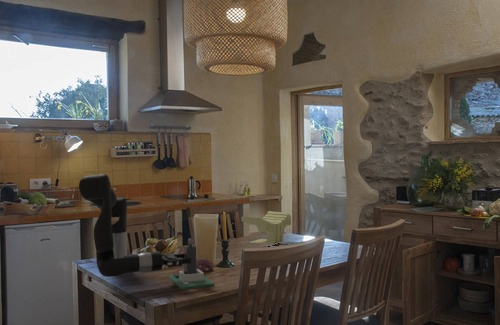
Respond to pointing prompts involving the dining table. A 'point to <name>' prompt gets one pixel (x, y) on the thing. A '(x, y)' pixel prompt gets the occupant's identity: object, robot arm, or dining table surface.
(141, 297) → the dining table surface
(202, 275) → the circuit board
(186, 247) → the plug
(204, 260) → the video game controller
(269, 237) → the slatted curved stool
